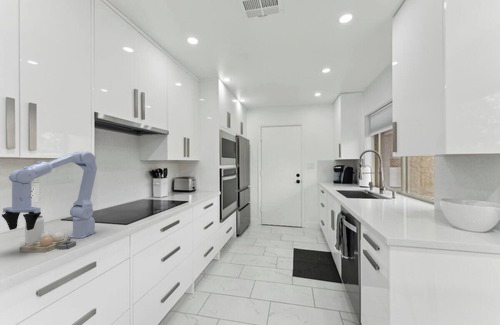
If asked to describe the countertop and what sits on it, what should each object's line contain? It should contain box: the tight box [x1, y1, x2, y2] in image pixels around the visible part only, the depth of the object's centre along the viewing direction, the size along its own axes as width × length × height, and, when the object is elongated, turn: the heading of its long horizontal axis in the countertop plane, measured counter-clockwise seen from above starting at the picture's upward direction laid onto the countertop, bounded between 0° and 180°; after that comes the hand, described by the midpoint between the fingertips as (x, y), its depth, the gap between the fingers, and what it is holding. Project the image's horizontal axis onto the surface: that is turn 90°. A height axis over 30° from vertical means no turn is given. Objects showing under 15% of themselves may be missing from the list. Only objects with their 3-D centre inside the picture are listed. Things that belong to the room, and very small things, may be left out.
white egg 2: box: [52, 231, 66, 242], centre depth 102 cm, size 4×4×4 cm
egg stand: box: [56, 240, 77, 250], centre depth 99 cm, size 5×5×2 cm
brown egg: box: [40, 236, 53, 246], centre depth 97 cm, size 4×4×4 cm
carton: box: [19, 237, 72, 253], centre depth 100 cm, size 12×12×2 cm
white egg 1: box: [40, 231, 54, 239], centre depth 103 cm, size 4×4×4 cm
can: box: [24, 215, 45, 245], centre depth 105 cm, size 6×6×12 cm
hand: (21, 229), depth 93 cm, fingers open, 7 cm apart
